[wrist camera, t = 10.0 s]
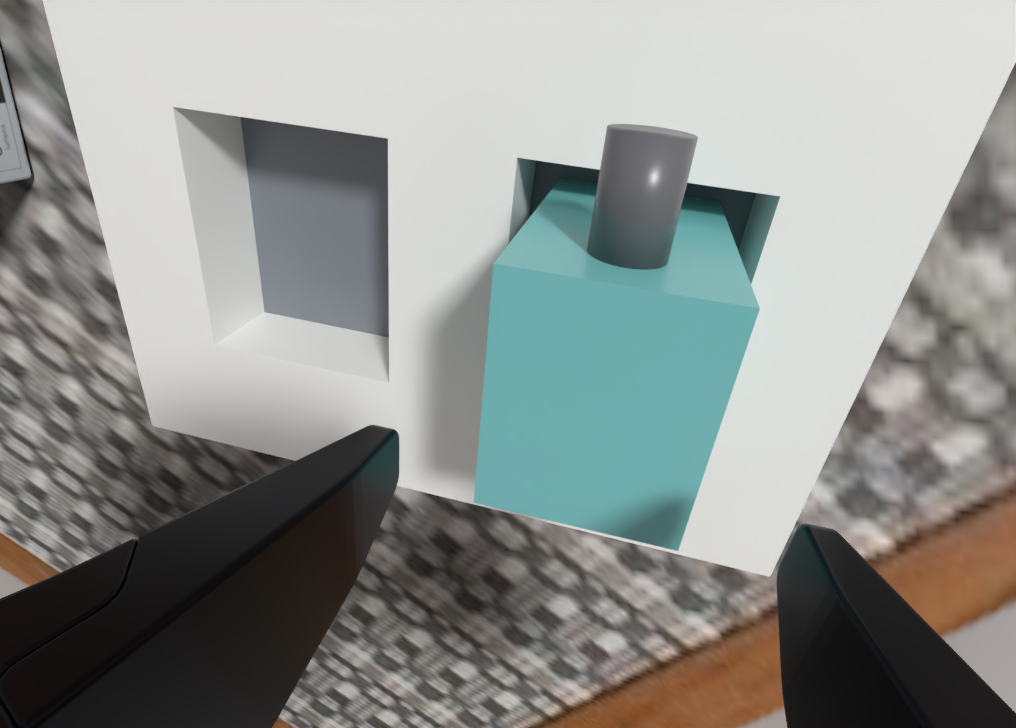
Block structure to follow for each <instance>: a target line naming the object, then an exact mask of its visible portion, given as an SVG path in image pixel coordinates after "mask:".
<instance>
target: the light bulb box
mask: <svg viewBox="0 0 1016 728" xmlns="http://www.w3.org/2000/svg"><path fill="white" fill-rule="evenodd" d="M30 177H31V170H30V166H29V162H28V159H27V155H26V151H25V147H24V142H23V138H22V134H21V130H20V126H19V121H18V117H17V113H16V109H15V105H14V101H13V97H12V93H11V89H10V85H9V81H8V77H7V73H6V69H5V65H4V60H3V56H2V52H1V48H0V184H2V183H8V182H13V181H18V180H23V179H28V178H30Z"/></svg>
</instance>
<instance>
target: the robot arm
mask: <svg viewBox="0 0 1016 728" xmlns="http://www.w3.org/2000/svg"><path fill="white" fill-rule="evenodd" d="M398 479H399V435H398V432H397V431H396V430H395V429H391V428H387V427H383V426H378V425H369V426H366V427H364V428H362V429H360V430H358V431H356V432H354V433H352V434H350V435H348V436H346V437H344V438H342V439H339V440H337V441H335V442H333V443H331V444H329V445H327V446H325V447H323V448H321V449H319V450H317V451H315V452H313V453H310V454H308V455H306V456H304V457H302V458H300V459H298V460H296V461H294V462H292V463H290V464H288V465H286V466H283V467H281V468H279V469H277V470H275V471H273V472H271V473H269V474H267V475H265V476H263V477H261V478H259V479H256V480H254V481H252V482H250V483H248V484H246V485H244V486H242V487H240V488H238V489H236V490H234V491H232V492H229V493H227V494H225V495H223V496H221V497H219V498H217V499H215V500H213V501H211V502H209V503H207V504H205V505H203V506H200V507H198V508H196V509H194V510H192V511H190V512H188V513H186V514H184V515H182V516H180V517H178V518H176V519H173V520H171V521H169V522H167V523H165V524H163V525H161V526H159V527H157V528H155V529H153V530H151V531H149V532H146V533H144V534H142V535H141V536H140V537H139V539H138V540H136V539H132V540H129V541H127V542H125V543H123V544H121V545H119V546H117V547H115V548H113V549H111V550H109V551H107V552H105V553H102V554H100V555H98V556H96V557H94V558H92V559H89V560H87V561H85V562H83V563H81V564H79V565H76V566H74V567H72V568H70V569H68V570H66V571H63V572H61V573H59V574H57V575H55V576H53V577H50V578H48V579H46V580H43V581H41V582H39V583H36V584H34V585H32V586H29V587H27V588H25V589H22V590H20V591H17V592H15V593H13V594H11V595H8V596H6V597H3V598H1V599H0V728H272V727H273V725H274V723H275V722H276V720H277V718H278V716H279V715H280V713H281V711H282V709H283V708H284V706H285V704H286V702H287V701H288V699H289V697H290V695H291V694H292V692H293V690H294V688H295V687H296V685H297V683H298V681H299V680H300V678H301V676H302V674H303V673H304V671H305V669H306V667H307V666H308V664H309V662H310V660H311V658H312V657H313V655H314V653H315V651H316V650H317V648H318V646H319V644H320V643H321V641H322V639H323V637H324V636H325V634H326V632H327V630H328V629H329V627H330V625H331V623H332V622H333V620H334V618H335V616H336V615H337V613H338V611H339V609H340V608H341V606H342V604H343V602H344V601H345V599H346V597H347V595H348V594H349V592H350V590H351V588H352V586H353V584H354V582H355V581H356V579H357V577H358V575H359V572H360V570H361V568H362V566H363V564H364V561H365V559H366V557H367V554H368V552H369V550H370V547H371V545H372V543H373V540H374V538H375V536H376V533H377V531H378V529H379V526H380V524H381V522H382V519H383V517H384V515H385V512H386V510H387V508H388V505H389V503H390V501H391V498H392V496H393V494H394V491H395V489H396V486H397V483H398ZM777 600H778V620H779V641H780V661H781V679H782V693H783V700H784V708H785V715H786V721H787V727H788V728H1016V713H1015V712H1014V711H1013V710H1012V709H1011V708H1010V707H1009V706H1008V705H1007V704H1006V703H1005V702H1004V701H1003V700H1002V699H1001V698H1000V697H999V696H998V695H997V694H996V693H995V692H994V691H993V690H992V689H991V688H990V687H989V686H988V685H987V684H986V683H985V682H984V681H983V680H982V679H981V677H979V675H978V674H976V672H975V671H974V670H973V669H972V668H971V667H970V666H969V665H967V663H966V662H965V661H964V660H963V659H962V658H961V657H960V656H959V655H958V654H957V653H956V652H955V651H954V650H953V649H952V648H951V647H950V646H949V645H948V644H947V643H946V642H945V641H944V640H943V639H942V638H941V637H940V636H939V635H938V634H937V633H936V632H935V631H934V630H933V629H932V628H931V627H930V626H929V625H928V624H927V622H926V621H925V620H924V619H923V618H922V617H921V616H920V615H919V614H918V613H917V612H916V611H915V610H914V609H913V608H912V607H911V606H910V605H909V604H908V603H907V602H906V601H905V600H904V599H903V598H902V597H901V596H900V595H899V594H898V593H897V592H896V591H895V590H894V589H893V588H892V587H891V586H890V585H889V584H888V583H887V582H886V581H885V580H884V579H883V578H882V577H881V576H880V575H879V574H878V573H877V572H876V571H875V570H874V569H873V568H872V566H871V565H870V564H869V563H868V562H867V561H866V560H865V559H864V558H863V557H862V556H861V555H860V554H859V553H858V552H857V551H856V550H855V549H854V548H853V547H852V546H851V545H850V544H849V543H848V542H847V541H846V540H845V539H844V538H843V537H842V536H841V535H840V534H839V533H838V532H837V531H835V530H833V529H830V528H825V527H821V526H816V525H812V524H807V523H805V524H802V525H800V526H799V527H798V528H797V530H796V531H795V533H794V535H793V538H792V540H791V542H790V544H789V546H788V548H787V550H786V552H785V554H784V556H783V558H782V560H781V563H780V565H779V568H778V573H777Z"/></svg>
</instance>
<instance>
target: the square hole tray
mask: <svg viewBox="0 0 1016 728" xmlns="http://www.w3.org/2000/svg"><path fill="white" fill-rule="evenodd" d="M43 4H44V8H45V11H46V15H47V19H48V23H49V27H50V31H51V35H52V39H53V42H54V46H55V50H56V54H57V58H58V62H59V66H60V70H61V73H62V77H63V81H64V85H65V89H66V93H67V97H68V101H69V104H70V108H71V112H72V116H73V120H74V124H75V128H76V132H77V136H78V139H79V143H80V147H81V151H82V155H83V159H84V163H85V167H86V170H87V174H88V178H89V182H90V186H91V190H92V194H93V198H94V201H95V205H96V209H97V213H98V217H99V221H100V225H101V229H102V233H103V236H104V240H105V244H106V248H107V252H108V256H109V260H110V264H111V267H112V271H113V275H114V279H115V283H116V287H117V291H118V295H119V298H120V302H121V306H122V310H123V314H124V318H125V322H126V326H127V329H128V333H129V337H130V341H131V345H132V349H133V353H134V357H135V361H136V364H137V368H138V372H139V376H140V380H141V384H142V388H143V392H144V395H145V399H146V403H147V407H148V411H149V415H150V419H151V423H152V426H155V427H159V428H163V429H167V430H171V431H175V432H179V433H183V434H187V435H191V436H195V437H200V438H204V439H208V440H212V441H216V442H220V443H224V444H228V445H232V446H236V447H241V448H245V449H249V450H253V451H257V452H261V453H265V454H269V455H273V456H277V457H282V458H286V459H290V460H294V461H296V460H298V459H300V458H302V457H304V456H306V455H308V454H310V453H313V452H315V451H317V450H319V449H321V448H323V447H325V446H327V445H329V444H331V443H333V442H335V441H337V440H339V439H342V438H344V437H346V436H348V435H350V434H352V433H354V432H356V431H358V430H360V429H362V428H364V427H366V426H369V425H378V426H383V427H387V428H391V429H395V430H396V431H397V432H398V435H399V479H398V483H397V486H400V487H404V488H409V489H413V490H417V491H421V492H425V493H429V494H433V495H437V496H441V497H445V498H450V499H454V500H458V501H462V502H466V503H470V504H474V505H478V506H482V507H486V508H491V509H495V510H499V511H503V512H507V513H511V514H515V515H519V516H523V517H527V518H531V519H536V520H540V521H544V522H548V523H552V524H556V525H560V526H564V527H568V528H572V529H577V530H581V531H585V532H589V533H593V534H597V535H601V536H605V537H609V538H613V539H618V540H622V541H626V542H630V543H634V544H638V545H642V546H646V547H650V548H654V549H659V550H663V551H667V552H671V553H675V554H679V555H683V556H687V557H691V558H695V559H699V560H704V561H708V562H712V563H716V564H720V565H724V566H728V567H732V568H736V569H740V570H745V571H749V572H753V573H757V574H761V575H765V576H769V577H770V576H771V574H772V572H773V570H774V568H775V565H776V563H777V561H778V559H779V557H780V555H781V553H782V551H783V549H784V547H785V544H786V542H787V540H788V538H789V536H790V534H791V532H792V530H793V528H794V526H795V523H796V521H797V519H798V517H799V515H800V513H801V511H802V509H803V507H804V505H805V503H806V500H807V498H808V496H809V494H810V492H811V490H812V488H813V486H814V484H815V482H816V479H817V477H818V475H819V473H820V471H821V469H822V467H823V465H824V463H825V461H826V459H827V456H828V454H829V452H830V450H831V448H832V446H833V444H834V442H835V440H836V438H837V435H838V433H839V431H840V429H841V427H842V425H843V423H844V421H845V419H846V417H847V415H848V412H849V410H850V408H851V406H852V404H853V402H854V400H855V398H856V396H857V394H858V391H859V389H860V387H861V385H862V383H863V381H864V379H865V377H866V375H867V373H868V370H869V368H870V366H871V364H872V362H873V360H874V358H875V356H876V354H877V352H878V350H879V347H880V345H881V343H882V341H883V339H884V337H885V335H886V333H887V331H888V329H889V326H890V324H891V322H892V320H893V318H894V316H895V314H896V312H897V310H898V308H899V306H900V303H901V301H902V299H903V297H904V295H905V293H906V291H907V289H908V287H909V285H910V282H911V280H912V278H913V276H914V274H915V272H916V270H917V268H918V266H919V264H920V262H921V259H922V257H923V255H924V253H925V251H926V249H927V247H928V245H929V243H930V241H931V238H932V236H933V234H934V232H935V230H936V228H937V226H938V224H939V222H940V220H941V217H942V215H943V213H944V211H945V209H946V207H947V205H948V203H949V201H950V199H951V197H952V194H953V192H954V190H955V188H956V186H957V184H958V182H959V180H960V178H961V176H962V173H963V171H964V169H965V167H966V165H967V163H968V161H969V159H970V157H971V155H972V153H973V150H974V148H975V146H976V144H977V142H978V140H979V138H980V136H981V134H982V132H983V129H984V127H985V125H986V123H987V121H988V119H989V117H990V115H991V113H992V111H993V109H994V106H995V104H996V102H997V100H998V98H999V96H1000V94H1001V92H1002V90H1003V88H1004V85H1005V83H1006V81H1007V79H1008V77H1009V75H1010V73H1011V71H1012V69H1013V67H1014V64H1015V62H1016V0H43ZM610 124H635V125H646V126H654V127H661V128H668V129H673V130H678V131H683V132H687V133H690V134H693V135H696V136H697V137H698V140H697V144H696V148H695V153H694V157H693V161H692V165H691V169H690V173H689V177H688V182H687V186H686V190H685V194H684V195H685V196H692V197H699V198H706V199H713V200H719V201H720V204H721V206H722V209H723V212H724V214H725V217H726V220H727V222H728V225H729V228H730V230H731V233H732V236H733V238H734V241H735V244H736V246H737V249H738V252H739V254H740V257H741V260H742V262H743V265H744V268H745V270H746V273H747V276H748V278H749V281H750V284H751V286H752V289H753V292H754V294H755V297H756V300H757V302H758V305H759V307H760V310H759V313H758V316H757V319H756V322H755V325H754V328H753V331H752V334H751V337H750V340H749V343H748V345H747V348H746V351H745V354H744V357H743V360H742V363H741V366H740V369H739V372H738V375H737V378H736V381H735V384H734V387H733V390H732V393H731V396H730V399H729V402H728V405H727V408H726V411H725V414H724V417H723V419H722V422H721V425H720V428H719V431H718V434H717V437H716V440H715V443H714V446H713V449H712V452H711V455H710V458H709V461H708V464H707V467H706V470H705V473H704V476H703V479H702V482H701V485H700V488H699V491H698V493H697V496H696V499H695V502H694V505H693V508H692V511H691V514H690V517H689V520H688V523H687V526H686V529H685V532H684V535H683V538H682V541H681V544H680V547H679V550H678V551H676V550H671V549H667V548H663V547H659V546H655V545H650V544H646V543H642V542H638V541H634V540H629V539H625V538H621V537H617V536H613V535H608V534H604V533H600V532H596V531H592V530H587V529H583V528H579V527H575V526H571V525H566V524H562V523H558V522H554V521H550V520H545V519H541V518H537V517H533V516H529V515H524V514H520V513H516V512H512V511H507V510H503V509H499V508H495V507H491V506H486V505H482V504H478V503H474V493H475V481H476V469H477V456H478V444H479V432H480V420H481V408H482V396H483V384H484V372H485V360H486V348H487V336H488V324H489V311H490V299H491V287H492V275H493V263H494V262H495V261H496V260H497V258H498V257H499V256H500V254H501V253H502V252H503V251H504V249H505V248H506V247H507V246H508V244H509V243H510V242H511V240H512V239H513V238H514V237H515V235H516V234H517V233H518V232H519V230H520V229H521V228H522V226H523V225H524V224H525V223H526V221H527V220H528V219H529V218H530V216H531V215H532V214H533V213H534V211H535V210H536V209H537V207H538V206H539V205H540V204H541V202H542V201H543V200H544V199H545V197H546V196H547V195H548V193H549V192H550V191H551V190H552V188H553V187H554V186H555V185H556V183H557V182H558V181H559V180H560V178H567V179H574V180H581V181H588V182H595V183H598V178H599V172H600V166H601V160H602V154H603V148H604V142H605V136H606V130H607V126H608V125H610Z"/></svg>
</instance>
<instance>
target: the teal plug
mask: <svg viewBox="0 0 1016 728" xmlns="http://www.w3.org/2000/svg"><path fill="white" fill-rule="evenodd" d="M697 140H698V137H697V136H696V135H693V134H690V133H687V132H683V131H678V130H673V129H668V128H661V127H654V126H646V125H635V124H610V125H608V126H607V130H606V136H605V142H604V148H603V154H602V160H601V166H600V172H599V178H598V183H595V182H588V181H581V180H574V179H567V178H560V180H559V181H558V182H557V183H556V185H555V186H554V187H553V188H552V190H551V191H550V192H549V193H548V195H547V196H546V197H545V199H544V200H543V201H542V202H541V204H540V205H539V206H538V207H537V209H536V210H535V211H534V213H533V214H532V215H531V216H530V218H529V219H528V220H527V221H526V223H525V224H524V225H523V226H522V228H521V229H520V230H519V232H518V233H517V234H516V235H515V237H514V238H513V239H512V240H511V242H510V243H509V244H508V246H507V247H506V248H505V249H504V251H503V252H502V253H501V254H500V256H499V257H498V258H497V260H496V261H495V262H494V263H493V275H492V287H491V299H490V311H489V324H488V336H487V348H486V360H485V372H484V384H483V396H482V408H481V420H480V432H479V444H478V456H477V469H476V481H475V493H474V503H478V504H482V505H486V506H491V507H495V508H499V509H503V510H507V511H512V512H516V513H520V514H524V515H529V516H533V517H537V518H541V519H545V520H550V521H554V522H558V523H562V524H566V525H571V526H575V527H579V528H583V529H587V530H592V531H596V532H600V533H604V534H608V535H613V536H617V537H621V538H625V539H629V540H634V541H638V542H642V543H646V544H650V545H655V546H659V547H663V548H667V549H671V550H676V551H678V550H679V547H680V544H681V541H682V538H683V535H684V532H685V529H686V526H687V523H688V520H689V517H690V514H691V511H692V508H693V505H694V502H695V499H696V496H697V493H698V491H699V488H700V485H701V482H702V479H703V476H704V473H705V470H706V467H707V464H708V461H709V458H710V455H711V452H712V449H713V446H714V443H715V440H716V437H717V434H718V431H719V428H720V425H721V422H722V419H723V417H724V414H725V411H726V408H727V405H728V402H729V399H730V396H731V393H732V390H733V387H734V384H735V381H736V378H737V375H738V372H739V369H740V366H741V363H742V360H743V357H744V354H745V351H746V348H747V345H748V343H749V340H750V337H751V334H752V331H753V328H754V325H755V322H756V319H757V316H758V313H759V310H760V307H759V305H758V302H757V300H756V297H755V294H754V292H753V289H752V286H751V284H750V281H749V278H748V276H747V273H746V270H745V268H744V265H743V262H742V260H741V257H740V254H739V252H738V249H737V246H736V244H735V241H734V238H733V236H732V233H731V230H730V228H729V225H728V222H727V220H726V217H725V214H724V212H723V209H722V206H721V204H720V201H719V200H713V199H706V198H699V197H692V196H685V195H684V194H685V190H686V186H687V182H688V177H689V173H690V169H691V165H692V161H693V157H694V153H695V148H696V144H697Z"/></svg>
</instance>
